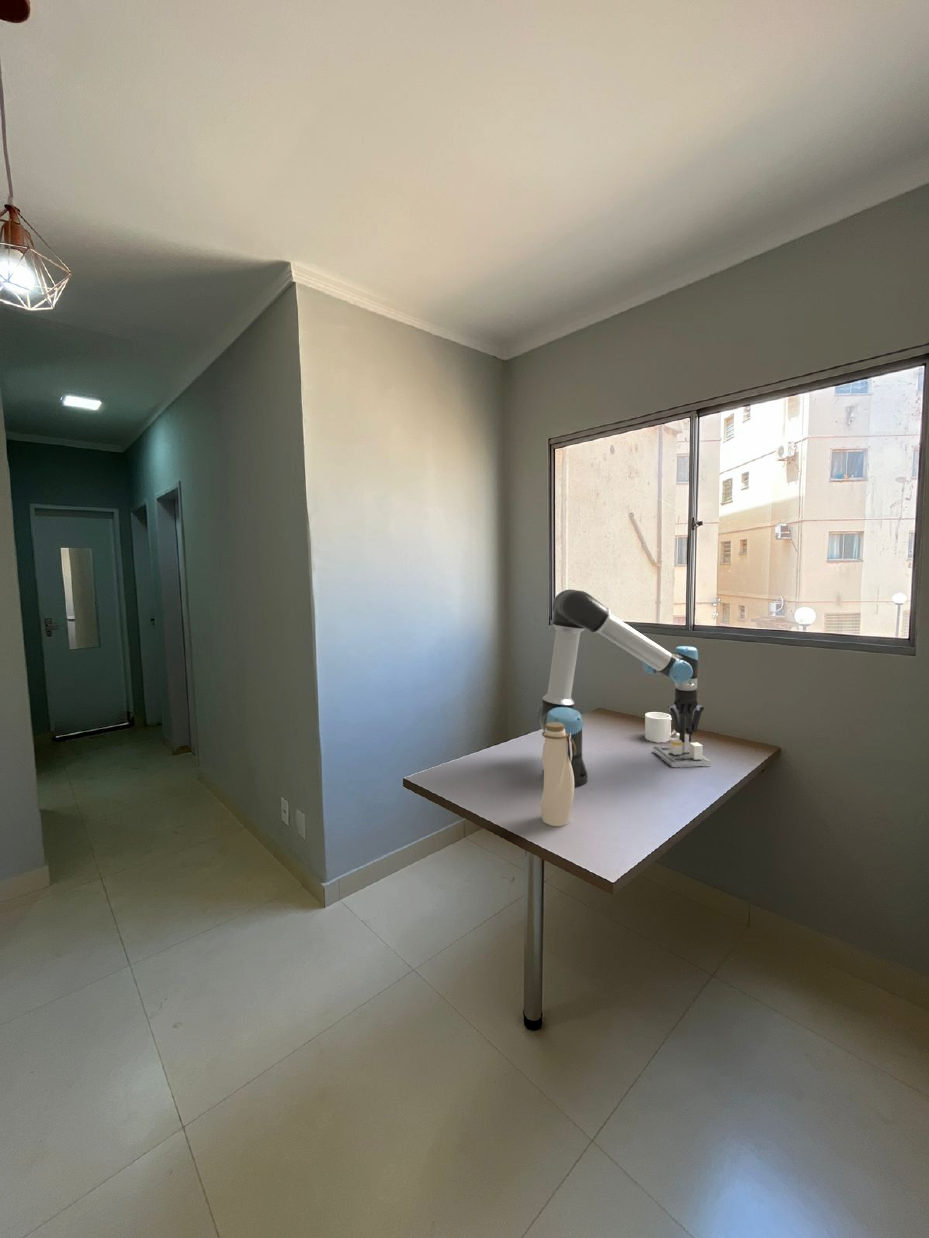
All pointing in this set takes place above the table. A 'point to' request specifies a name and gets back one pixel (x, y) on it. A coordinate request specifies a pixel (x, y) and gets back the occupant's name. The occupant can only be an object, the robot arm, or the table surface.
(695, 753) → the breaker low
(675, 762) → the panel
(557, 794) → the water bottle
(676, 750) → the block
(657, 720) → the mug
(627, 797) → the table surface
